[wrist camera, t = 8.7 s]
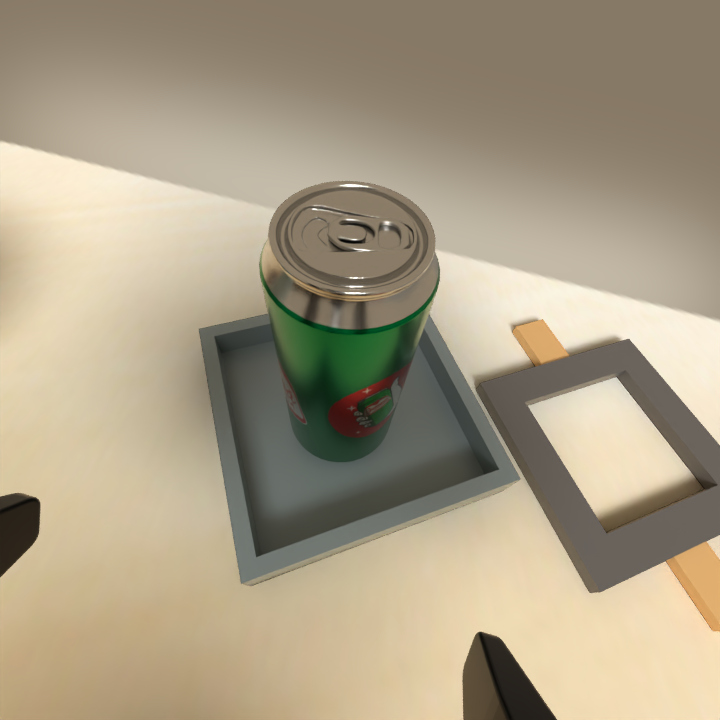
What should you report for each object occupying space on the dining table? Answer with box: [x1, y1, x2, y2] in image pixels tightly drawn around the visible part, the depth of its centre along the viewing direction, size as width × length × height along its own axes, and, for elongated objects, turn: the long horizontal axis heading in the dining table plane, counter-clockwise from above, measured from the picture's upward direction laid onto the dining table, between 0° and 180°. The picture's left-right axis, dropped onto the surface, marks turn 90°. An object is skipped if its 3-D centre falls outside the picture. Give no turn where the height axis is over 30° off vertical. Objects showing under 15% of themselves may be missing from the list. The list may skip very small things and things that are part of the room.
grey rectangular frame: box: [476, 319, 720, 632], centre depth 21 cm, size 11×17×1 cm, turn 19°
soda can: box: [259, 181, 440, 462], centre depth 15 cm, size 5×5×12 cm
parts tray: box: [199, 314, 520, 586], centre depth 20 cm, size 12×12×2 cm
